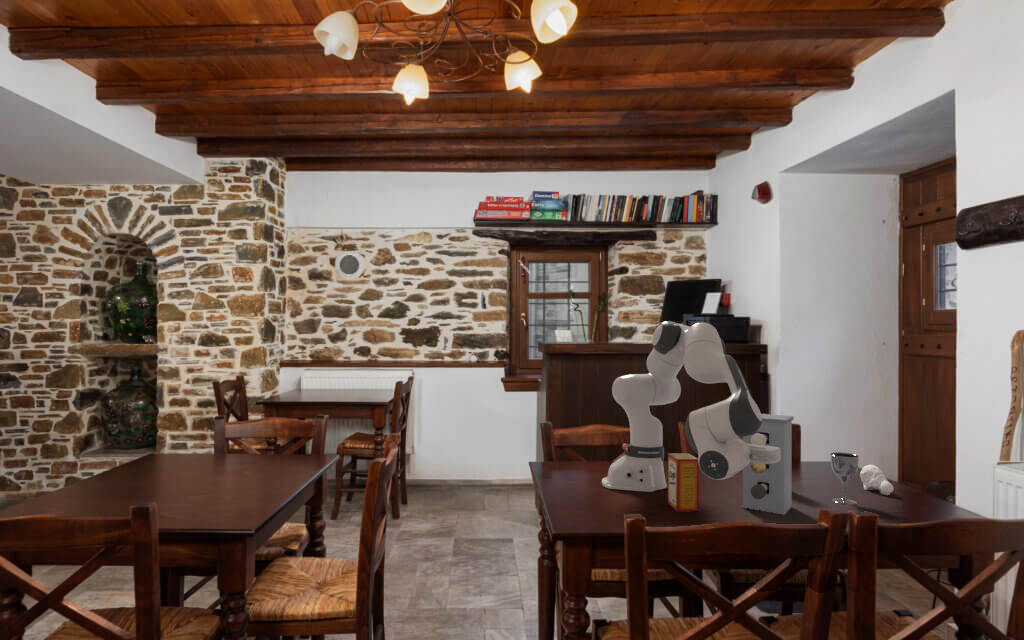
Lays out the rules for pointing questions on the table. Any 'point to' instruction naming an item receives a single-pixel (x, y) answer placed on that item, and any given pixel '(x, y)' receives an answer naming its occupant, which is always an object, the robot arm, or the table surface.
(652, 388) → the robot arm
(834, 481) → the table surface
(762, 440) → the plunger top
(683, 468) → the baking soda box
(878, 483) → the white lumpy piece
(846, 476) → the wine glass
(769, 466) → the grey toy cabinet
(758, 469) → the plunger mid
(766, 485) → the plunger low
